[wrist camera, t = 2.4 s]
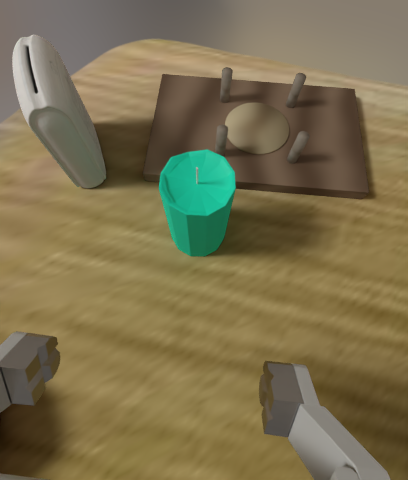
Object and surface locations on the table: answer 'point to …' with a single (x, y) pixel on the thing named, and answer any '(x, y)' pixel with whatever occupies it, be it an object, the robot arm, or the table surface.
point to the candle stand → (263, 133)
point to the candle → (197, 200)
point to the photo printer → (57, 111)
